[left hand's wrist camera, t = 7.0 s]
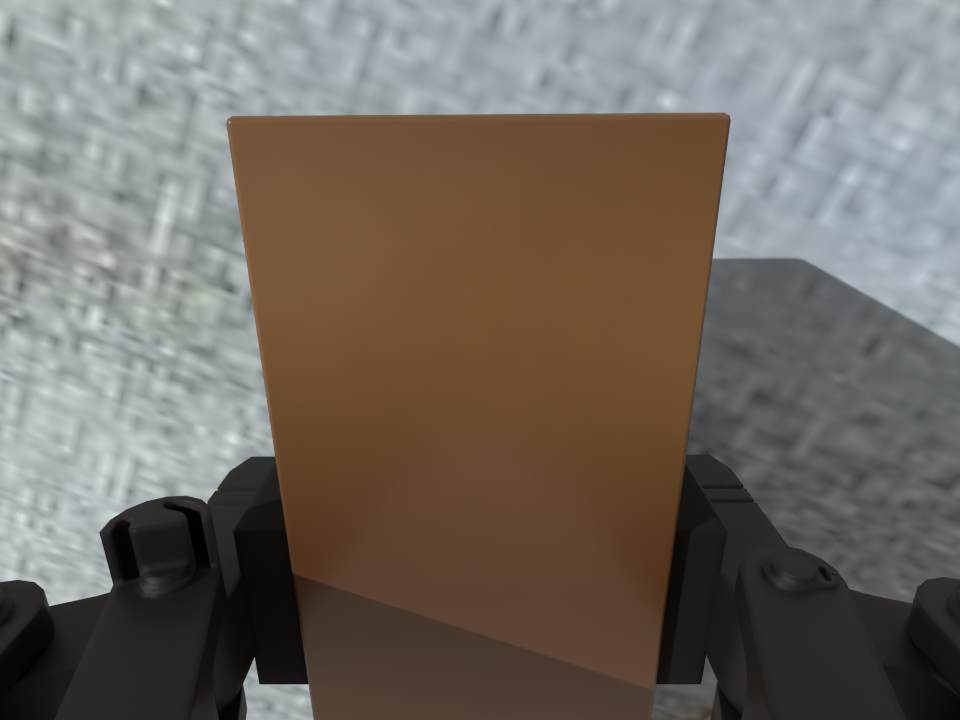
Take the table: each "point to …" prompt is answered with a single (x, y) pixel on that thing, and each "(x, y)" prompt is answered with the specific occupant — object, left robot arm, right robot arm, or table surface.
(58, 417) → the table surface
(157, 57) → the table surface
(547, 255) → the post
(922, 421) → the table surface
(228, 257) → the table surface
